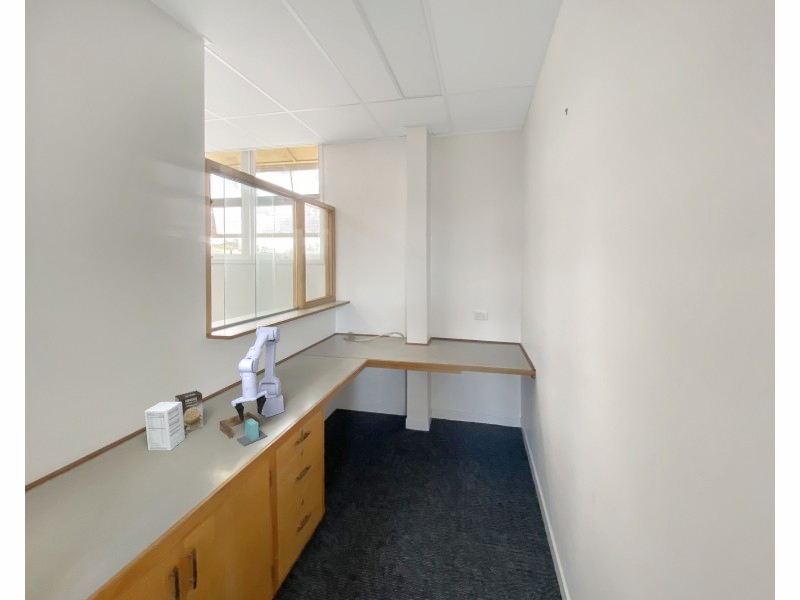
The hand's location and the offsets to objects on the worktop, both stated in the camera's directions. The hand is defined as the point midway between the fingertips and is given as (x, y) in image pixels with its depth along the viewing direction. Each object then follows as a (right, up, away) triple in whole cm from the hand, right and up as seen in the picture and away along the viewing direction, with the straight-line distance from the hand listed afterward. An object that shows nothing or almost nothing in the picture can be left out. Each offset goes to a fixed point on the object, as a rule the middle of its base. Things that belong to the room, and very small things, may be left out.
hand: (250, 416), depth 141 cm
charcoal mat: (+1, -9, 0) cm, 9 cm away
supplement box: (-32, -10, -5) cm, 34 cm away
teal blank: (0, -9, 0) cm, 9 cm away
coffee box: (-31, -8, +8) cm, 33 cm away
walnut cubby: (-8, -8, +8) cm, 14 cm away
